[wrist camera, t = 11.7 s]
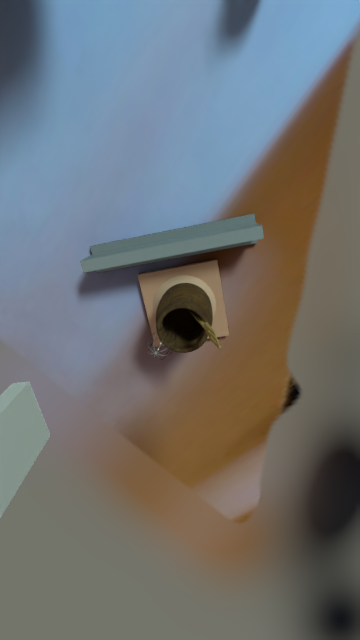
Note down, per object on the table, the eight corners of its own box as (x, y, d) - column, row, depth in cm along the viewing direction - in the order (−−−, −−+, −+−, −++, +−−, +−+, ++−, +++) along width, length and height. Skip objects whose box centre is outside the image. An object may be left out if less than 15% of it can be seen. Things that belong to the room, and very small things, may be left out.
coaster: (138, 273, 37) (137, 275, 36) (216, 258, 36) (217, 260, 35) (155, 344, 40) (155, 347, 39) (228, 332, 39) (229, 335, 38)
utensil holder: (151, 291, 37) (130, 331, 25) (204, 272, 35) (206, 307, 24) (170, 336, 38) (157, 393, 27) (221, 320, 37) (229, 372, 26)
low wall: (91, 246, 36) (77, 252, 32) (253, 213, 34) (261, 215, 30) (99, 272, 37) (86, 281, 33) (256, 242, 35) (264, 247, 31)
